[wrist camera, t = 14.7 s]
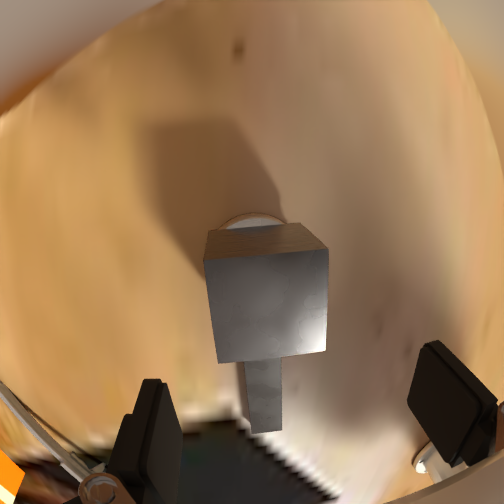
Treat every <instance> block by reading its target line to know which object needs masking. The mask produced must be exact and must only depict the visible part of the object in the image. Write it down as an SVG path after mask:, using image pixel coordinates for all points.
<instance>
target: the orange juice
mask: <svg viewBox="0 0 504 504" xmlns="http://www.w3.org/2000/svg"><path fill="white" fill-rule="evenodd" d="M24 474H25V473H24V472H23V471H22V470H21V469H20V468H19V467H18V466H16V465H15V464H14V463H13V462H12V461H11V460H10V459H9V458H8V457H7V456H6V455H5V454H4V453H3V452H2V451H1V450H0V504H13V501H14V499H15V496H16V493H17V491H18V488H19V486H20V483H21V481H22V479H23V476H24Z"/></svg>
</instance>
